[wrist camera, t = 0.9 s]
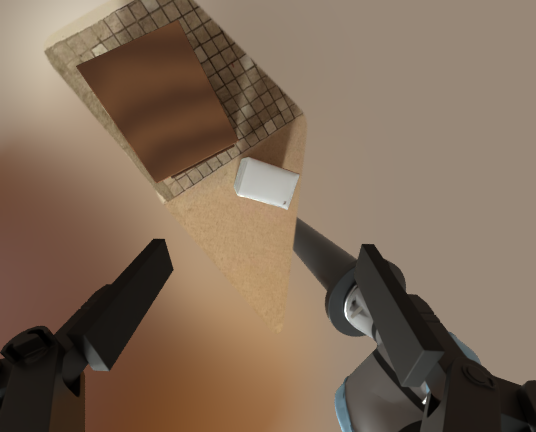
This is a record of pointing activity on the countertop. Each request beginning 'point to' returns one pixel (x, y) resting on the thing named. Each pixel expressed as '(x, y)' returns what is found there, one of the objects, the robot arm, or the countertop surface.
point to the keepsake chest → (161, 101)
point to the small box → (265, 182)
